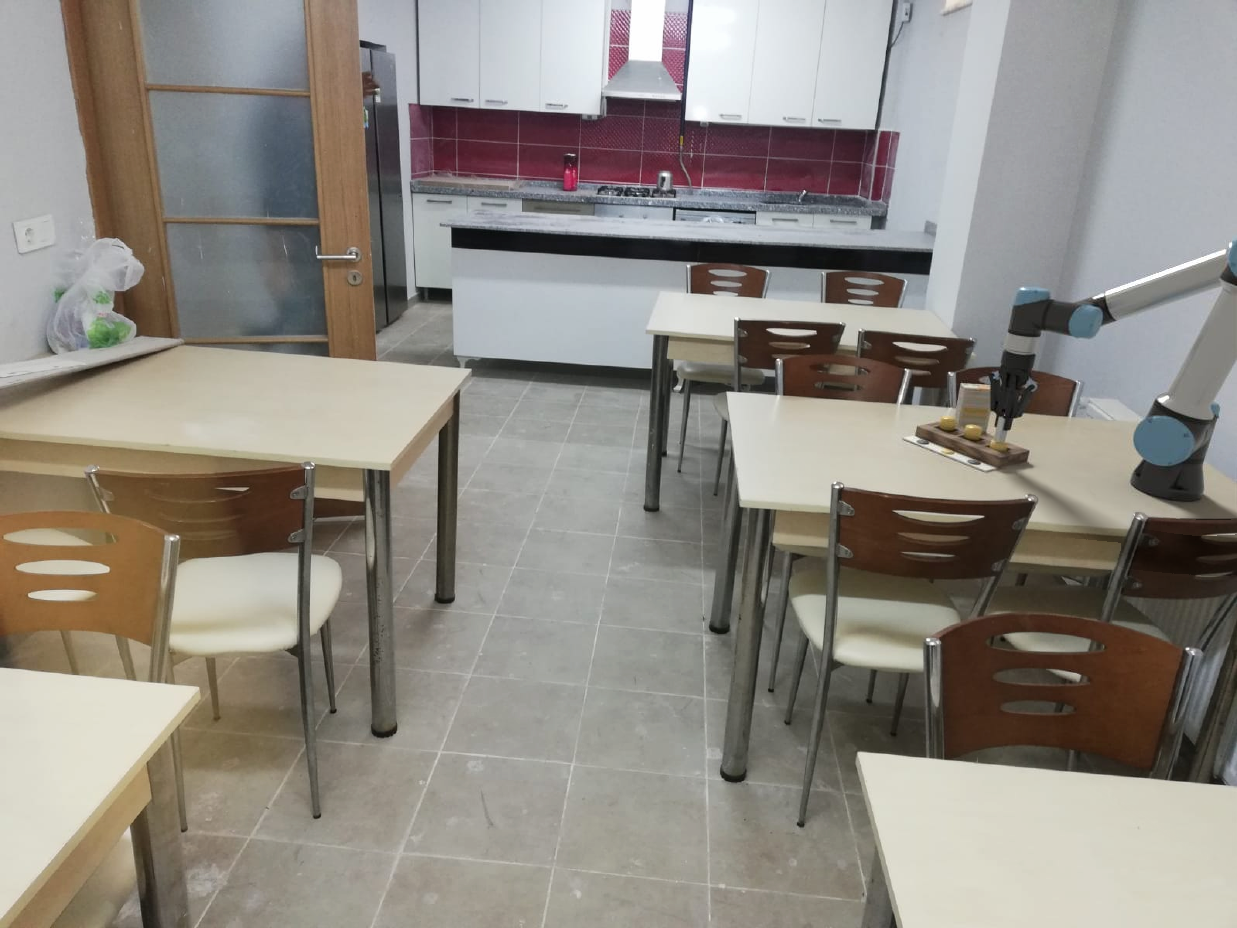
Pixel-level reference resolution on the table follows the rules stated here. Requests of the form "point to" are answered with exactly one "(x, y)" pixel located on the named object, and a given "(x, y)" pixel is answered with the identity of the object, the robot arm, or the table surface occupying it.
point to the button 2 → (998, 446)
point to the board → (972, 445)
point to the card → (950, 453)
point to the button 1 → (947, 423)
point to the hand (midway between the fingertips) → (999, 441)
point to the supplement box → (973, 406)
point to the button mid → (972, 432)
